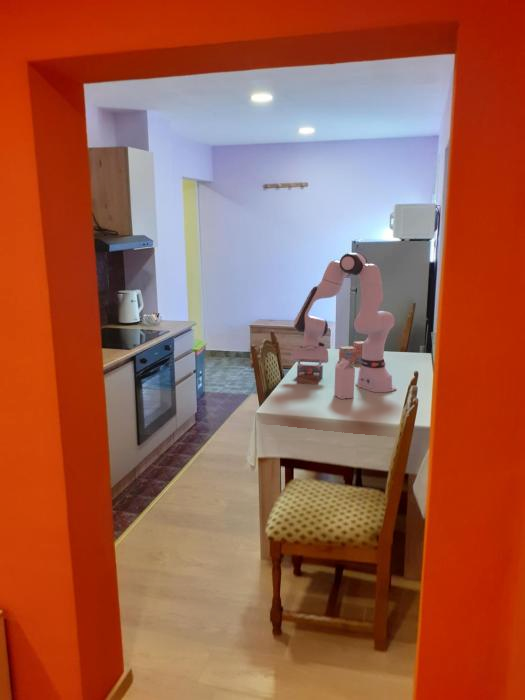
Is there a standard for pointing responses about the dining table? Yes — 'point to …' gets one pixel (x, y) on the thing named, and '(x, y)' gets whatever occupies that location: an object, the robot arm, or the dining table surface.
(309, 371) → the dowel
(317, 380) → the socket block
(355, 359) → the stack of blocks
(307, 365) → the backstop wall
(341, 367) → the milk carton
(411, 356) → the dining table surface
